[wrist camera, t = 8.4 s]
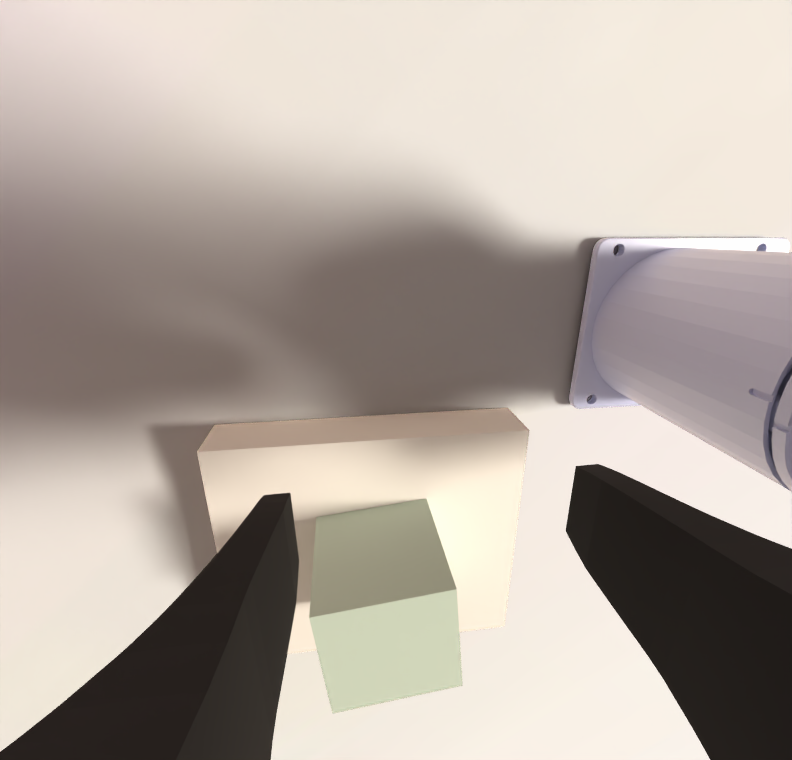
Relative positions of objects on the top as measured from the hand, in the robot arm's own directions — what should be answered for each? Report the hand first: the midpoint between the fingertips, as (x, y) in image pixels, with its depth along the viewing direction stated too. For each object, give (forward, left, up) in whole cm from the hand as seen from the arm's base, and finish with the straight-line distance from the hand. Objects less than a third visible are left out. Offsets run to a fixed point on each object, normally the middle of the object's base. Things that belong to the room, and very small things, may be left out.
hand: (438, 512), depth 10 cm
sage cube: (+1, +8, -7) cm, 10 cm away
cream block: (+1, +8, -10) cm, 13 cm away
